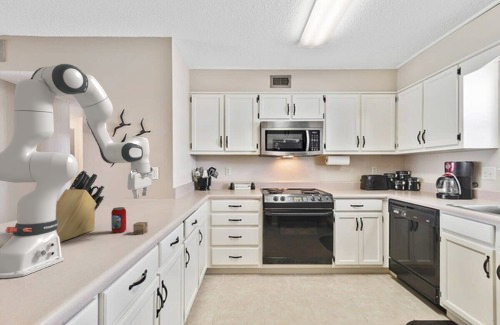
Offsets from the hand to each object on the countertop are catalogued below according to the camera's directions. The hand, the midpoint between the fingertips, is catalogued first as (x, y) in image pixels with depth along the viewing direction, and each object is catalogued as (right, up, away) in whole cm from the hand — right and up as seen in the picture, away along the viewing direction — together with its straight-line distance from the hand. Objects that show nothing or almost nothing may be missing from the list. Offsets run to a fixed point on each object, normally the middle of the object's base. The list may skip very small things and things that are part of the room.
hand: (140, 197), depth 140 cm
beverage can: (-12, -18, +2) cm, 22 cm away
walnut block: (0, -18, 0) cm, 18 cm away
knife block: (-32, -18, -2) cm, 37 cm away
